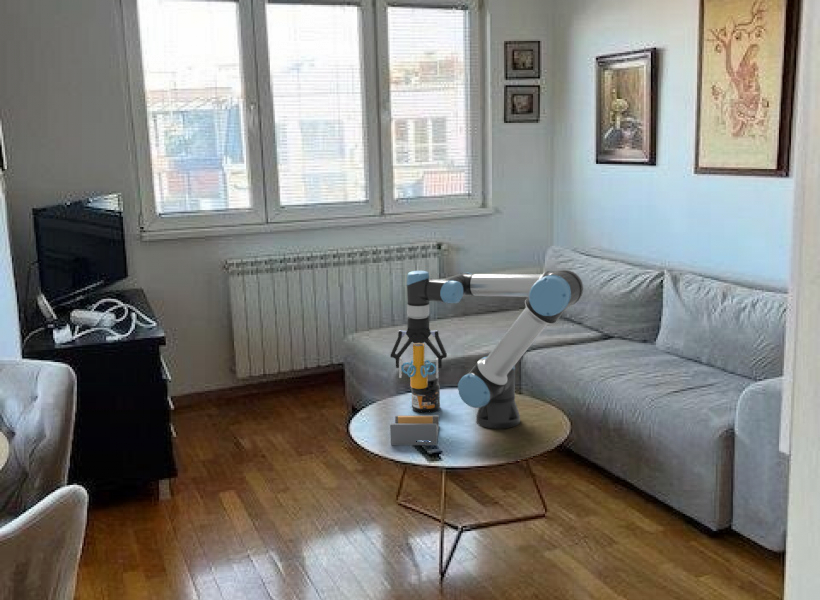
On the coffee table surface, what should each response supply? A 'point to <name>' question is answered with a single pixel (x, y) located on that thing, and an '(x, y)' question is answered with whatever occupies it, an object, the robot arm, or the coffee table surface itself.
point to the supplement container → (427, 396)
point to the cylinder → (418, 368)
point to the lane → (414, 432)
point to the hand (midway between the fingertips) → (418, 377)
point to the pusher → (415, 419)
